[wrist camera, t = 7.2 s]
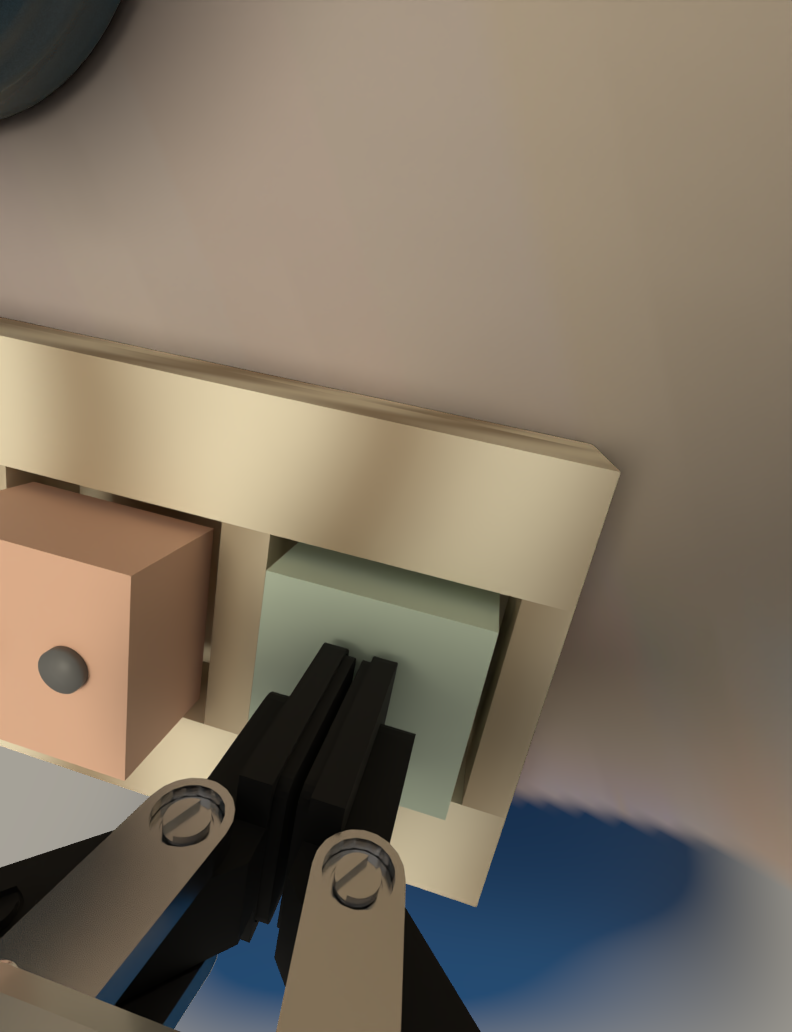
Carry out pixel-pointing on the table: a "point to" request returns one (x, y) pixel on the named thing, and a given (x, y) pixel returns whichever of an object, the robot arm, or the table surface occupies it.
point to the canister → (45, 46)
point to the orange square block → (97, 625)
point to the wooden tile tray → (320, 534)
